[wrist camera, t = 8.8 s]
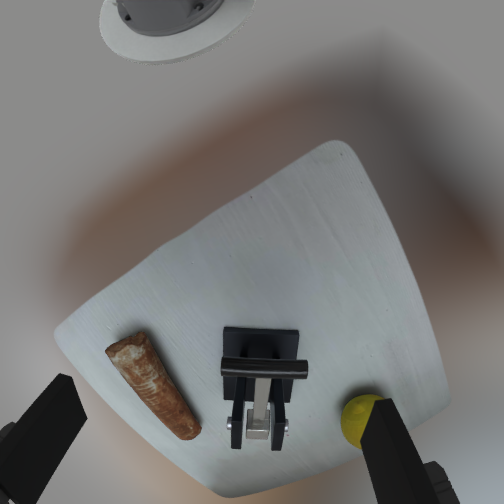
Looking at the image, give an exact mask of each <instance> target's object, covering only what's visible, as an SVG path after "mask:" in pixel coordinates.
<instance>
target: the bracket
mask: <svg viewBox="0 0 504 504" xmlns="http://www.w3.org/2000/svg"><path fill="white" fill-rule="evenodd" d="M298 342H299V331H298V330H270V329H249V328H232V327H224V331H223V356H226V357H241V358H260V359H291V360H296V357H297V350H298ZM255 381H256V378H244V377H229V376H223V388H224V400H233V401H234V403H233V411H232V417H228V419H227V429H228V430H231V448H232V449H241V444H242V432H243V420H244V408H245V401H249V402H254V394H255ZM292 385H293V379H271V385H270V391H269V397H268V402H270V416H271V450H272V451H281V448H282V443H283V437H284V432H287V431H288V419H286V418H285V406H284V403H290V398H291V392H292Z"/></svg>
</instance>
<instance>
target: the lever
mask: <svg viewBox="0 0 504 504" xmlns="http://www.w3.org/2000/svg"><path fill="white" fill-rule="evenodd" d="M221 376H229V377H244V378H256V381H255V394H254V406H253V409H248V410H247V424H246V439H264V440H267V439H268V435H269V431H270V410H266V409H267V403H268V397H269V391H270V385H271V379H307V376H308V361H307V360H291V359H260V358H241V357H226V356H223V357H222V360H221Z"/></svg>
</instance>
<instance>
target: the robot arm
mask: <svg viewBox="0 0 504 504" xmlns="http://www.w3.org/2000/svg"><path fill="white" fill-rule="evenodd" d="M223 2H224V0H116V3H112V2H111V3H112V4H113V5H114V6H117V9H118V13H119V16H120V18H121V19H122V21H123V22H124V23H125V24H126V25H127V26H128V27H129V28H130V29H131V30H133V31H134V32H136V33H138V34H141V35H145V36H153V37H160V36H169V35H174V34H178V33H181V32H184V31H187V30H189V29H191V28H193V27H195V26H197V25H199V24H201V23H202V22H204V21H205V20H207V19H208V18H209V17H211V16H212V15H213V14H214V13H215V12H216V11H217V10H218V9H219V8H220V6H221V5H222V3H223ZM86 420H87V416H86V414H85V411H84V409H83V406H82V404H81V401H80V398H79V396H78V393H77V390H76V387H75V385H74V382H73V379H72V377H71V376H67V375H64V374H61V373H60V374H58V375H57V376H56V377H55V379H54V380H53V381H52V382H51V383H50V384H49V385H48V386H47V388H46V389H45V390H44V391H43V392H42V393H41V395H40V396H39V397H38V398H37V399H36V400H35V401H34V402H33V404H32V405H31V406H30V407H29V408H28V410H27V411H26V412H25V413H24V414H23V415H22V417H21V418H20V419H19V421H17V423H14V422H11V423H9V424H7V425H6V426H4V427H3V428H2V429H1V430H0V504H9V502H8V501H9V499H11V500H12V501H13V502H14V503H15V504H36V503H37V501H38V499H39V498H40V496H41V494H42V492H43V491H44V489H45V487H46V485H47V484H48V482H49V480H50V479H51V477H52V475H53V474H54V472H55V470H56V468H57V467H58V465H59V464H60V462H61V460H62V459H63V457H64V455H65V454H66V452H67V450H68V449H69V447H70V445H71V444H72V442H73V441H74V439H75V438H76V436H77V434H78V433H79V431H80V430H81V428H82V426H83V425H84V423H85V422H86ZM360 444H361V448H362V451H363V454H364V457H365V461H366V464H367V467H368V471H369V474H370V477H371V481H372V484H373V488H374V491H375V495H376V498H377V502H378V504H460V502H459V500H458V498H457V496H456V494H455V492H454V489H452V485H451V483H450V481H448V477H447V475H446V473H445V471H444V469H443V468H442V467H441V466H440V465H439V464H438V463H437V462H435V461H432V462H429V463H425V464H423V463H422V460H421V458H420V456H419V454H418V452H417V450H416V448H415V446H414V444H413V441H412V439H411V437H410V435H409V433H408V431H407V429H406V427H405V425H404V423H403V420H402V418H401V416H400V414H399V412H398V410H397V408H396V406H395V404H394V402H393V400H392V398H389V399H381V400H375V402H374V405H373V408H372V411H371V413H370V416H369V419H368V421H367V424H366V427H365V429H364V432H363V434H362V437H361V439H360Z"/></svg>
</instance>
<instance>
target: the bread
mask: <svg viewBox="0 0 504 504" xmlns="http://www.w3.org/2000/svg"><path fill="white" fill-rule="evenodd" d="M105 353H106V354H107V355H108V357H109V359H110V360H111V362H112V363H113V365H114V366H115V367H116V368H117V370H118V371H119V372H120V373H121V375H122V376H123V378H124V379H125V380H126V382H127V383H128V384H129V385H130V386H131V387H132V388H133V390H134V391H135V392H136V393H137V395H138V396H139V397H140V399H141V400H142V401H143V402H144V403H145V404H146V405H147V406H148V407H149V409H150V410H151V411H152V412H153V413H154V414H155V415H156V416H157V417H158V418H159V419H160V420H161V421H162V422H163V423H164V424H165V425H166V426H167V427H168V428H169V429H170V430H171V431H172V432H173V433H174V434H175V435H176V436H177V437H178V438H179V439H181V440H192V439H194V438H195V437H196V436H197V435H198V434H199V433H200V432H201V429H202V427H201V426H200V424H199V423H198V422H197V420H196V419H195V417H194V416H193V414H192V413H191V411H190V409H189V407H188V406H187V404H186V403H185V401H184V400H183V398H182V396H181V395H180V393H179V392H178V390H177V389H176V387H175V386H174V384H173V383H172V381H171V379H170V378H169V376H168V374H167V372H166V370H165V369H164V367H163V365H162V363H161V361H160V359H159V358H158V356H157V354H156V352H155V350H154V348H153V346H152V345H151V343H150V341H149V339H148V337H147V335H146V334H145V332H139V333H137V334H136V335H135V336H134V337H132V336H129V337H128V338H126V339H124V340H121V341H119V342H116V343H113V344H111V345H110V346H109V347H108V348H107V349H106V350H105Z"/></svg>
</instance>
